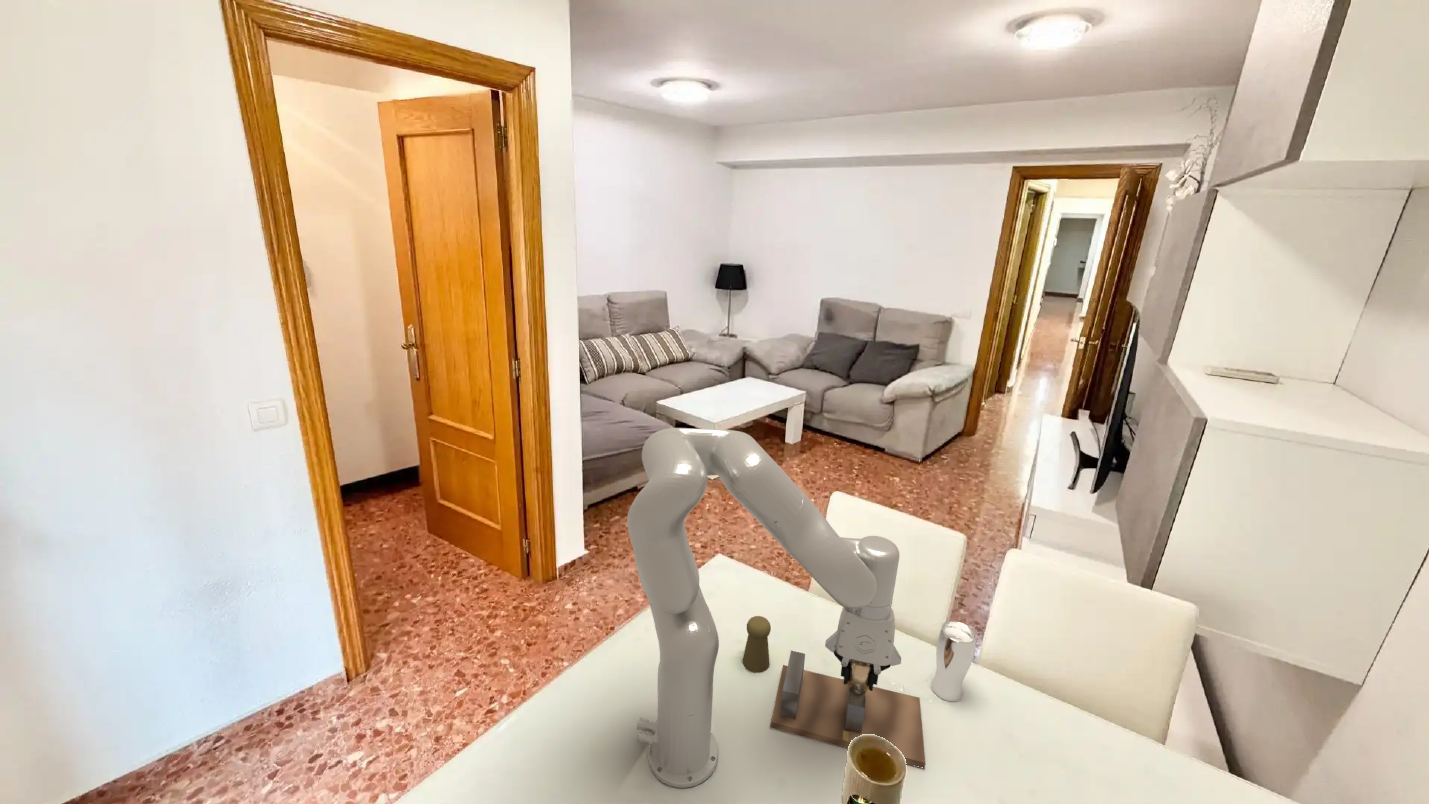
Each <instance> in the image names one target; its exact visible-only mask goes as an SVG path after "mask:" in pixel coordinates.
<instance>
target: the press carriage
mask: <svg viewBox="0 0 1429 804" xmlns="http://www.w3.org/2000/svg"><path fill="white" fill-rule="evenodd" d="M871 668H872V664H871V663H867V662H862V661H858V660H854V659H850V669H849V676H848V683H847V686H848V688H847V703H846V718H845V729H848V730H852V731H856V732H859V733H861V731H862V724H863V718H864V712H865V693H866V692H867V691H868V687H869V680H870V674H871Z"/></svg>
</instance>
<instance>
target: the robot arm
mask: <svg viewBox="0 0 1429 804" xmlns="http://www.w3.org/2000/svg"><path fill="white" fill-rule="evenodd" d="M641 461H642V465H643V467H644V470H645V474H646V475H647V479H648V482H647V483H646V484H645V485H644V487H642V489H641V490H640V491H639V493H638V494H637V495H636V496H635V498H634V500H633V502H632V503H631V506H630V507H629V509H628V511H627V512H628V513H627V517H626V521H627V522H626V525H627V531H628V535H629V539H630V543H631V546H632V550H633V556H634V561H635V562H634V563H635V565H636V569H637V570H636V571H637V574H638V578H639V582H640V584H641V587H642V590H643V592H644V594H645V595H646V597H647V601H648V604H649V606H650V610H651V615H652V618H653V623H654V628H655V631H656V636H657V641H658V648H659V663H658V668H657V720H655V721H651V720H649V719H647V718H643V717H639V718H638V720H637V722H636V723H637V724H636V729H637V730H639V731H642V732H639V734H638V737H637V741H638V742H641V743H643V744H644V743H646V744H649V746H648V751H647V752H648V753H647V754H648V755H647V756H648V763H649V768H650V769H651V771H652V773H653V774H654V776H655V777H656V778H657V779H658V780H660V781H661V782H662V783H664V784H665V785H668V786H670V787H672V788H673V787H674V788H679V789H681V788H682V789H683V788H690V787H691V788H692V787H695V786H697V785H699V784H702V783H704V782H705V781H706V780H707V779H708V778H710V777H711V775H712V774H713V773H714V771H715V770H716V768H717V767H716V766H717V764H718V760H719V745H718V742H717V739H716V737H715V735H713V732H712V719H713V718H712V715H713V713H712V712H713V698H714V697H713V692H714V672H715V665H716V661H717V657H718V653H719V647H720V645H719V644H720V641H719V639H720V638H719V634H718V630H717V626H716V623H715V620H714V617H713V615H712V612H711V610H710V608H709V606H708V604H707V602H706V599H705V597H704V594H703V591H702V589H701V587H700V574H699V569H698V568H699V567H698V565H697V564H698V563H697V562H696V558H695V556H694V553H693V552H692V548H691V546H690V542H689V539H688V533H687V530H686V526H685V522H686V519H687V517H688V516H689V514H690V513H691V512H692V511H693V509H694V508H695V507H697V505H699V503H700V502H701V500H702V499H703V497H704V495H705V493H706V491H707V488H708V476H718V478H719V480H720V481H721V483H722V484H723V486H724V487H725V489H726V490H727V491H728V493H729V494H730V495H731V496H732V497H733V498H734V499H735V500H736V502H738V503H739V504H740V505H741V506H742V507H743V508H744V509H745V510H746V511H747V512H748V513H749V514H750V515H752V517H753V518H754V519H755V520H756V521H757V522H758V523H759V524H761V526H762V527H763V528H764V529H765V530H766V531H767V532H768V534H770V536H772V537H773V538H774V539H775V540H776V541H777V543H779V545H780V547H782V548H783V549H784V551H786V552H787V553H788V554H789V555H790V556H791V557H792V558H793V559H794V560H795V561H796V562H797V563H798V564H799V565H800V566H801V567H802V568H803V569H804V570H805V571H806V572H807V573H808V574H809V575H810V576H811V577H812V578H813V580H814V581H815V582H816V583H817V584H818V585H819V586H820V587H821V588H822V590H824V591H825V592H826V593H827V594H828V595H829V597H831V598H832V599H833V600H834V601H835V602H836V603H837V604H839V606H841V607H842V610H841V613H840V617H839V618H838V619H839V620H838V624H837V625H838V626H837V629H836V631H835V632H834V633H832V635H830V636H829V637H828V638H827V639H826V640H825V643H824V644H825V648H826V649H828V651H830V652H831V653H833V655H834V656H835V658H836V659H837V660H838V661H839V662H840V665H841V669H840V677H843V679H844V684H847V683H848V676H849V669H850V659H854V660H858V661H862V662H867V663H871V664H872V668H871V674H870V680H869V690H870V691H872V690H873V687H874V685H875V686H877V685H878V679H879V675H881V673H882V672H883V671H885V670H888V669H889V668H890V667H894V666H898V665H901V664H902V657H901V655H900V653H899V651H898V650H897V648H896V646H895V644H894V643H895V631H896V625H895V624H896V620H895V618H896V617H895V614H894V610H893V608H892V606H893V597H894V593H895V587H896V581H897V575H898V574H897V573H898V568H899V562H900V551H899V547H898V546H897V544H895V543H894V542H893V541H891V540H890V539H888V538H886V537H883V536H880V535H879V536H878V535H866V536H865V537H864V536H863V537H862V538H852V537H851V538H850V537H843V536H839V534H838V533H837V532H836V530H834V528H833V527H832V525H831V524H830V523H829V521H828V520H827V518H825V516H824V514H823V513H822V512H821V511H820V509H819V508H817V506H816V505H815V504H814V503H813V501H812V500H811V499H810V498H809V497H808V496H807V495H806V494H805V493H804V492H803V491H802V490H801V488H800V487H799V486H798V485H797V484H796V482H794V481H793V480H792V479H791V478H790V476H788V474H787V473H786V472H785V471H784V470H783V469H782V468H781V467H780V466H779V464H778V463H777V462H776V461H775V460H774V459H773V458H772V456H770V454H768V452H766V451H765V450H764V448H763V447H761V445H760V444H759V443H758V442H757V441H756V440H755V438H753V437H752V436H751V435H750V434H748V433H746V432H743V431H738V430H732V429H718V428H717V429H716V428H692V427H691V428H690V427H689V428H687V427H671V428H670V427H668V428H663V429H660V430H657V431H655V432H654V433H652V434H651V435H650V436H649V437H648V438H647V439H646V440H645V442H644V444H643V447H642V450H641ZM644 732H645V733H644ZM646 732H648V733H651V734H652V735H649V734H647V733H646Z"/></svg>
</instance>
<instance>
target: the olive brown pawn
mask: <svg viewBox="0 0 1429 804" xmlns="http://www.w3.org/2000/svg"><path fill="white" fill-rule="evenodd" d="M771 629H772V627H771V623H770V621H769V620H768V619H767V618H766V617H764V616H761V615H756V616H755V615H754V616H752V617H750V618H749V619H748V621H747V623H746V632H747V634H748V635H747V637H746V644H745V646H744V652H743V656H742V660H741V661H742V665H743V667H744V669H745V670H747V671H748V672H751V673H756V674H760V673H764V672H766V671H768V669H769V668H770V666H771V665H770V663H771V662H770V650H769V638H768V637H769V636H770V634H771V631H772V630H771Z"/></svg>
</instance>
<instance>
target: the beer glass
mask: <svg viewBox="0 0 1429 804" xmlns="http://www.w3.org/2000/svg"><path fill="white" fill-rule="evenodd" d="M977 639H978V638H977V633H976V631H975V630H974V629H973V628H971V627H970V626H969V625H967V624H966V623H964V622H962V621H961V622H960V621H957V620H948V621H945V622H943V623H942V624H941V628H940V632H939V635H938V638H937V643H936V652H935V654H936V656H935V657H936V659H935V660H936V662H935V663H936V669H935V670H936V671H935V675H934V678H933V679H932V681H931V684H930V686H931V689H932V692H933V693H934V694H935V695H936V696H937V697H938V698H940V699H942V700H944V701H946V702H951V703H952V702H953V703H954V702H958V701H960V700H961V699H962V698H963V694H964V693H963V684H964V680H965V678H966V677H967V674H968V672H969V670H970V667H971V665H972V663H973V661H974V657H975V656H974V655H975V651H976V643H977V642H976V641H977Z"/></svg>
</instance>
